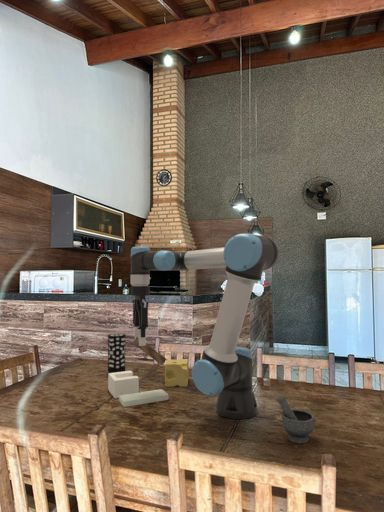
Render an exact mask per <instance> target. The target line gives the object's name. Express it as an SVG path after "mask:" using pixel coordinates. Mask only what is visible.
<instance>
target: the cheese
mask: <svg viewBox="0 0 384 512" xmlns="http://www.w3.org/2000/svg"><path fill="white" fill-rule="evenodd" d="M164 386H165V387H166V388H167V387H169V388H170V387H173V388H174V387H181V388H183V387H185V388H188V386H189V359H188V358H182V359H181V358H180V359H166V361H165V364H164Z"/></svg>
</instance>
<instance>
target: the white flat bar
mask: <svg viewBox="0 0 384 512" xmlns="http://www.w3.org/2000/svg"><path fill="white" fill-rule="evenodd" d="M162 401H169V394H168V392H166V391H165V390H164V389H163V388H162V389H155V390H154V389H153V390H148V391H141V392H140V391H139V393H133V394H126V395H120V396H119V398H118V402H119V403H120V404H121V405H122V407H123V408H126V407H132V406H138V405H145V404H151V403H157V402H158V403H159V402H162Z"/></svg>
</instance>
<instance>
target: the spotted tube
mask: <svg viewBox="0 0 384 512" xmlns="http://www.w3.org/2000/svg"><path fill="white" fill-rule="evenodd" d="M123 371H126V334H125V333H121V332H120V333H119V332H118V333H109V334H108V335H107V374H108V373H115V372H123Z"/></svg>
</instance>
